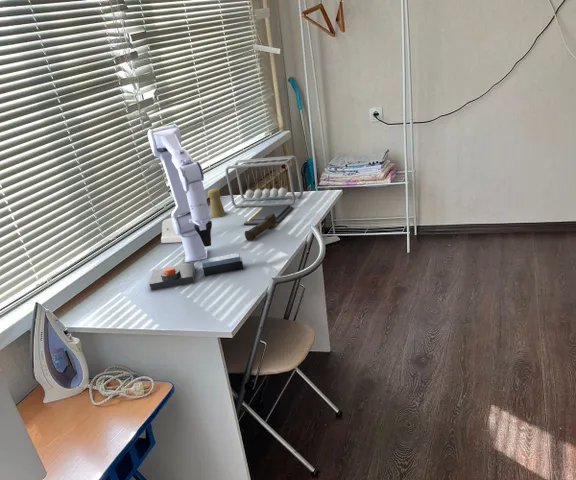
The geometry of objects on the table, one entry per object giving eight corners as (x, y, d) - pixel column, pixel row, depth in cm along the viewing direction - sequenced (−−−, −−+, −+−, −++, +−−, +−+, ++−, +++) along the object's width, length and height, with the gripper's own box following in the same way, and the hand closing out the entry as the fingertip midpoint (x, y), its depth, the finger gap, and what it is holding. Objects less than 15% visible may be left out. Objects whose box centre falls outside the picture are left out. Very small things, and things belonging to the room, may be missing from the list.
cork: (224, 216, 257) (219, 190, 251) (210, 218, 258) (204, 192, 252) (226, 212, 262) (220, 186, 257) (212, 214, 263) (206, 188, 257)
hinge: (160, 243, 238) (157, 216, 236) (166, 243, 243) (164, 217, 240) (198, 241, 233) (196, 214, 231) (204, 240, 237) (201, 214, 235)
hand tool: (253, 241, 222) (251, 229, 220) (245, 240, 225) (243, 228, 222) (282, 224, 235) (280, 212, 233) (274, 223, 237) (272, 212, 235)
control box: (155, 276, 207) (151, 265, 205) (195, 269, 207) (192, 258, 205) (151, 291, 196) (148, 279, 194) (193, 283, 196) (191, 271, 194)
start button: (166, 272, 198) (164, 268, 197) (175, 270, 198) (174, 266, 197) (165, 276, 195) (164, 271, 195) (175, 274, 195) (173, 269, 195)
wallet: (276, 219, 235) (241, 220, 241) (277, 224, 236) (242, 225, 242) (294, 203, 250) (260, 205, 256) (294, 207, 251) (261, 209, 257)
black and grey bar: (205, 272, 203) (202, 259, 201) (243, 265, 203) (240, 252, 201) (204, 276, 199) (201, 263, 197) (243, 269, 199) (241, 256, 197)
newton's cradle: (232, 208, 266) (223, 166, 257) (242, 200, 274) (234, 160, 265) (295, 205, 254) (288, 161, 245) (304, 197, 262) (298, 154, 253)
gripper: (185, 200, 195) (195, 241, 202) (185, 212, 182) (196, 255, 189) (206, 196, 195) (216, 237, 202) (208, 207, 183) (218, 250, 190)
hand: (207, 245), depth 196 cm, fingers closed
